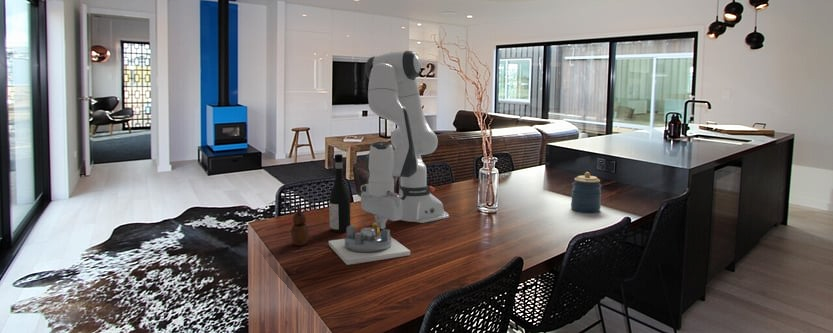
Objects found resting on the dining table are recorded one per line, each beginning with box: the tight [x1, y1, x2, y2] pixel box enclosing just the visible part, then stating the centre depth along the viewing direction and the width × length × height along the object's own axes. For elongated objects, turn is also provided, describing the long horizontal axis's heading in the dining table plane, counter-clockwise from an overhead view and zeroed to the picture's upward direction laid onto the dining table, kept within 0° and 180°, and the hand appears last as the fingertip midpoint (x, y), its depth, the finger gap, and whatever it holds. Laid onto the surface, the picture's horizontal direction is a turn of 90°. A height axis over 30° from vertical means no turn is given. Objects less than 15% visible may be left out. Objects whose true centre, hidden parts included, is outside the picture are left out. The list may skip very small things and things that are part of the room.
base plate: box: [328, 236, 411, 266], centre depth 171 cm, size 22×22×2 cm
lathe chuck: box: [344, 221, 392, 253], centre depth 170 cm, size 16×16×6 cm
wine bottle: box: [328, 153, 351, 233], centre depth 192 cm, size 8×8×30 cm
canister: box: [570, 171, 603, 214], centre depth 226 cm, size 13×13×18 cm
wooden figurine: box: [290, 202, 309, 247], centre depth 176 cm, size 7×6×15 cm
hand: (380, 227), depth 174 cm, fingers closed
